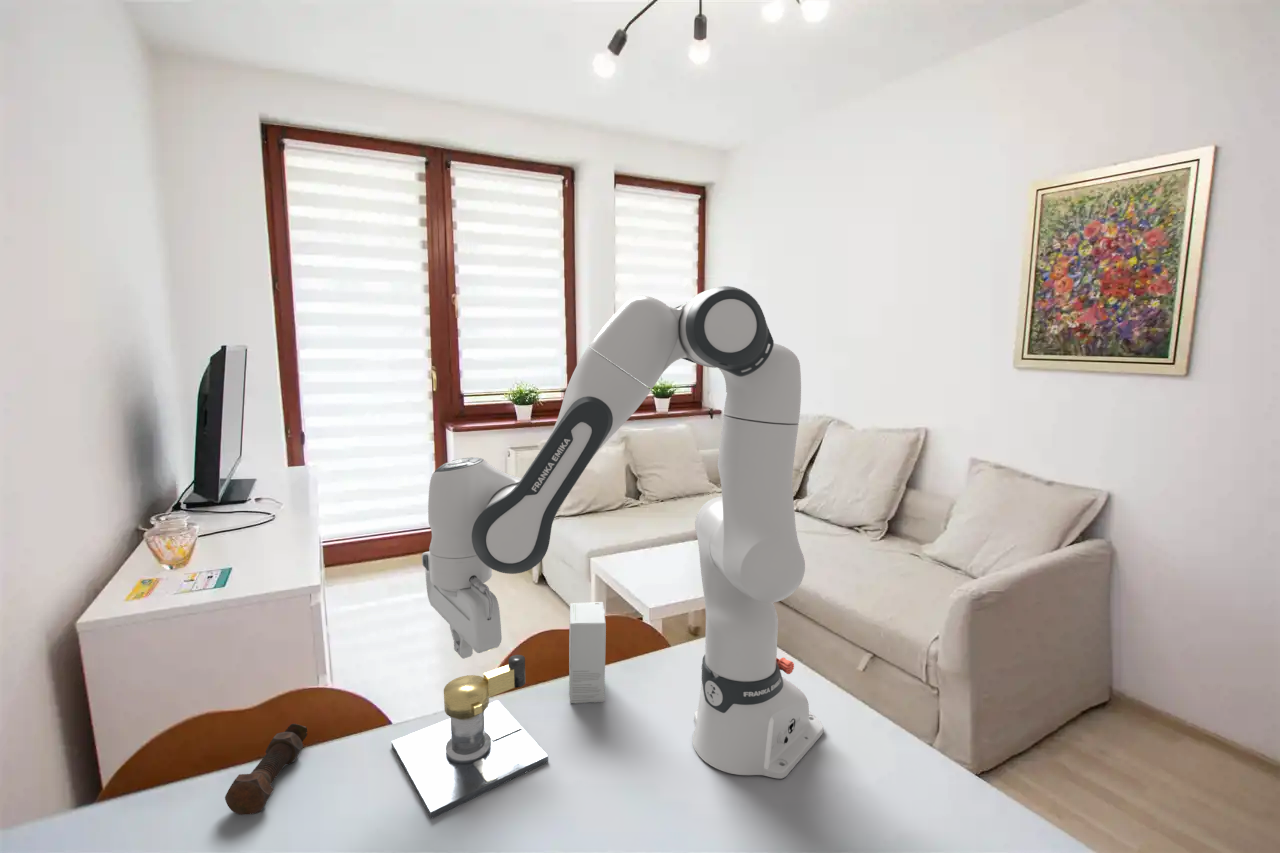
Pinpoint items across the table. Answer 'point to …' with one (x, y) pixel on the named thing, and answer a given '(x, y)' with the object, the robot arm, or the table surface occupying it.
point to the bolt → (265, 772)
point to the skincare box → (587, 652)
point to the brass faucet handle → (482, 688)
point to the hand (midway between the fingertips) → (463, 653)
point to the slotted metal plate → (466, 757)
